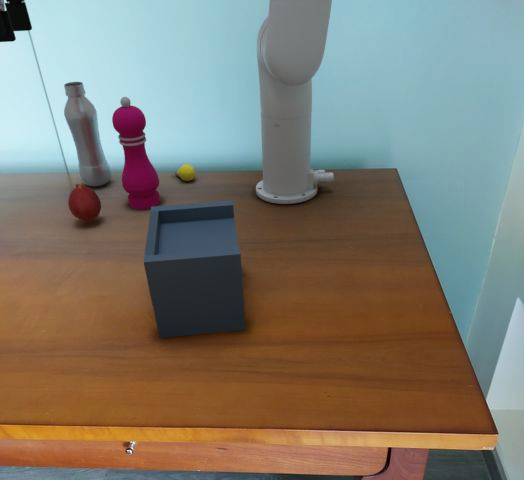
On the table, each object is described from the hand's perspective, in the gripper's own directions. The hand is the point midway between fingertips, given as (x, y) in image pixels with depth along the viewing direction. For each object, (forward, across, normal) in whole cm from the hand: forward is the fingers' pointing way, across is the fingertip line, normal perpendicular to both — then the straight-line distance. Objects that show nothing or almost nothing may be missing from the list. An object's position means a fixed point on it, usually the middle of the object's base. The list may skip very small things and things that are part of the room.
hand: (14, 35), depth 86 cm
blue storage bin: (+30, -36, -28) cm, 54 cm away
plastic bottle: (+31, +13, -4) cm, 33 cm away
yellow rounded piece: (+31, +12, -23) cm, 40 cm away
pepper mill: (+31, +1, -16) cm, 34 cm away
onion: (+31, -6, -6) cm, 32 cm away
